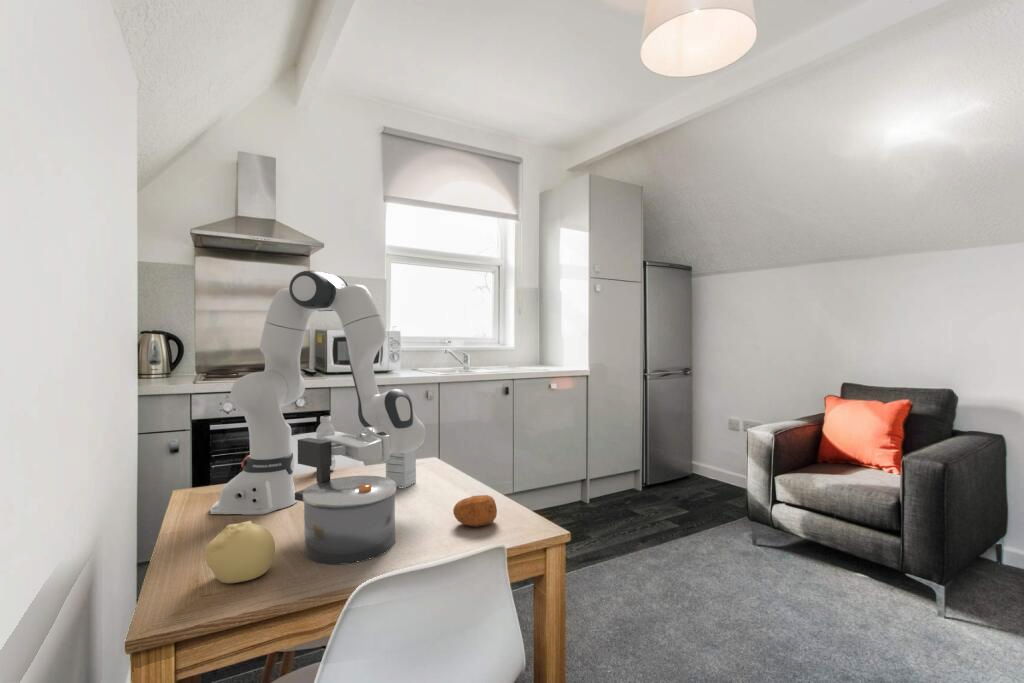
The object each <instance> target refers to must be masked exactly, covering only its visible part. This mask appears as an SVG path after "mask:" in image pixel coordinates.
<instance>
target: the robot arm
mask: <svg viewBox="0 0 1024 683" xmlns="http://www.w3.org/2000/svg"><path fill="white" fill-rule="evenodd" d="M315 311H317V312H333V311H334V312H335V313H336V314H337V316H338V318H339V320H340V323H341V327H342V329H343V333H344V336H345V340H346V344H347V348H348V361H349V366H350V372H351V376H352V379H353V384H354V387H355V391H356V395H357V402H358V404H357V405H358V406H357V407H358V408H357V415H358V420H359V422H360V424H361V425H362V426H363V428H361V430H360V431H359V432H358V433H357V434H356V435H355V434H352V433H342V434H335V435H332V436H326V437H324V438H323V440H327V441H331V448H332V455H334V456H342V457H345V458H348V459H352V460H355V461H358V462H370V461H377V460H379V461H386V460H388V459H390V454H402V453H406V452H409V451H412V450H415V449H416V450H417V449H419V447H421V446H422V444H423V443H424V442H425V440H426V439H425V438H426V434H427V433H426V427H425V425H424V423H423V422H422V421H421V420H420V419H419V418H418V416H417V415H416V413H415V410H414V408H413V401H412V399H411V397H410V395H409V394H408V393H407V392H405V391H404V390H403V389H399V388H394V389H391V390H388V391H385V392H383V393H380V391H379V388H378V383H377V379H376V375H375V371H374V362H375V359H376V357H377V354H378V352H379V351H380V350H381V348H382V346H384V343H385V340H386V327H385V324H384V321H383V318H382V316H381V313H380V311H379V308H378V306H377V304H376V301H375V299H374V298H373V295H372V294H371V293H370V291H369V289H368V288H367V287H366V286H364V285H362V284H355V283H353V284H349V283H348V282H347V281H346V280H345V279H344V278H342V277H340V276H338V275H335V274H332V273H329V272H327V271H317V270H309V269H308V270H303V271H300V272H298V273H296V274H295V275H294V276H293V277H292V279H291V280H290V283H289V287H283V288H280V289H278V290H277V291H276V293H275V294H274V296H273V298H272V301H271V303H270V305H269V307H268V311H267V314H266V317H265V322H264V325H263V329H262V333H261V338H260V341H259V349H260V352H261V353H262V354H263V357H264V370H263V371H256V372H250V373H248V374H246V375H243V376H241V377H239V378H237V379H236V380H235V382H233V384H232V386H231V390H230V398H231V401H232V403H233V404H234V406H235V407H236V408H238V409H239V410H240V411H241V412H242V414H243V416H244V419H245V422H246V425H247V428H248V434H249V437H248V439H249V455H247V456H245V458H244V459H243V460H242V462H241V463H240V465H241V468H242V471H241V472H239V473H238V474H237V475H235V476H234V477H233V478H231V479H230V480H229V481H228V482H227V483H226V484H224V486H223V488H222V489H221V491H220V495H219V500H218V501H216V502H215V503H214V504H212V506H210V509H209V513H210V512H211V513H212V514H242V515H266V514H268V513H271V512H273V511H276V510H280V509H281V510H282V509H284V508H288V507H290V506H292V505H295V504H296V503H297V502H298V500H295V492H297V491H296V488H295V484H294V475H293V474H294V473H293V472H294V468H295V458H294V453H293V452H292V450H293V449H292V427H291V425H290V424H289V423H288V422H286V420H285V417H284V415H283V411H282V407H283V406H288V405H290V404H293V403H294V402H295V401H297V400H299V399H300V398H301V397H302V396H303V395H304V393H305V390H306V381H305V378H304V377H303V376H302V373H301V371H302V370H301V354H302V353H301V352H302V349H303V344H304V340H305V335H306V330H307V327H308V321H309V318H310V316H311V315H312V313H314V312H315Z"/></svg>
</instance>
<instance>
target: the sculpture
mask: <svg viewBox="0 0 1024 683" xmlns="http://www.w3.org/2000/svg"><path fill="white" fill-rule="evenodd" d="M204 553H205V554H204V555H205V563H206V566H207V567H208V568H209V569H210V570H211V572H212V574H213V575H214V577H215V578H216V579H217V580H219V581H220V582H221V583H223V584H235V583H242V582H243V583H244V582H248V581H252V580H254V579H257V578H258V577H261V576H262V575H264V574H266V573H267V572H268V570H269V568H270V567H271V565H272V563H273V561H274V557H275V555H276V554H275V553H276V542H275V539H274V536H273V535H272V533H271V532H270V530H268V528H266V527H264V526H262V525H260V524H256V523H253V522H252V520H247V521H242V522H240V523H232V524H231V523H229V524H227V526H225V528H224V529H222V530H221V531H220V532H219V533H218V534H217V535H216V536H215V537H214V538H213V539H212V540H210V542H209V543H207V545H206V546H205V549H204Z"/></svg>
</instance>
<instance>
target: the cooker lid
mask: <svg viewBox="0 0 1024 683" xmlns="http://www.w3.org/2000/svg"><path fill="white" fill-rule="evenodd" d="M297 464H298V465H303V466H306V467H307V466H308V467H310V468H311V467H312V468H316V483H313V484H310V485H309V486H307V487H305V488H304V489H305V490H304V489H303V490H304V491H303V501H304V502H305V503H307V504H309V505H312V506H317V507H326V508H342V507H354V506H361V505H366V504H371V503H374V502H378V501H381V500H384V499H386V498H388V497H390V496H391V495H393V494H394V493H395V494H396V492H397V488H396V483H395V482H394V481H393V480H391V479H389V478H386V476H385V477H384V476H378V475H350V476H349V475H347V476H342V477H334V478H331V471H330V466H332V448H331V441H327V440H321V439H317V438H313V437H305V438H300V439H299V438H298V439H297ZM303 501H302V502H303ZM304 502H303V503H304Z"/></svg>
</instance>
